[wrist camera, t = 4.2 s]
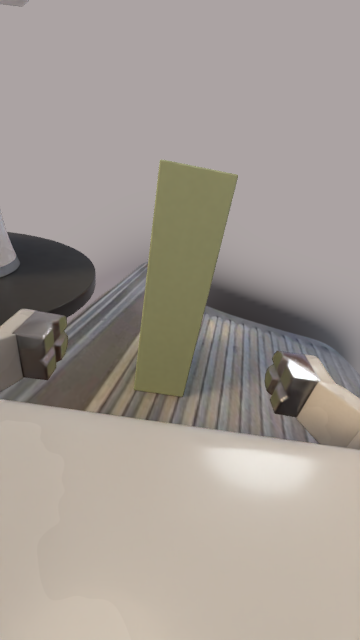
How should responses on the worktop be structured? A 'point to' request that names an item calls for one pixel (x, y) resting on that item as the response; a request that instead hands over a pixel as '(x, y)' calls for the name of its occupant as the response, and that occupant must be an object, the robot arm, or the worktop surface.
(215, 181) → the back pad
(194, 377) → the worktop surface
